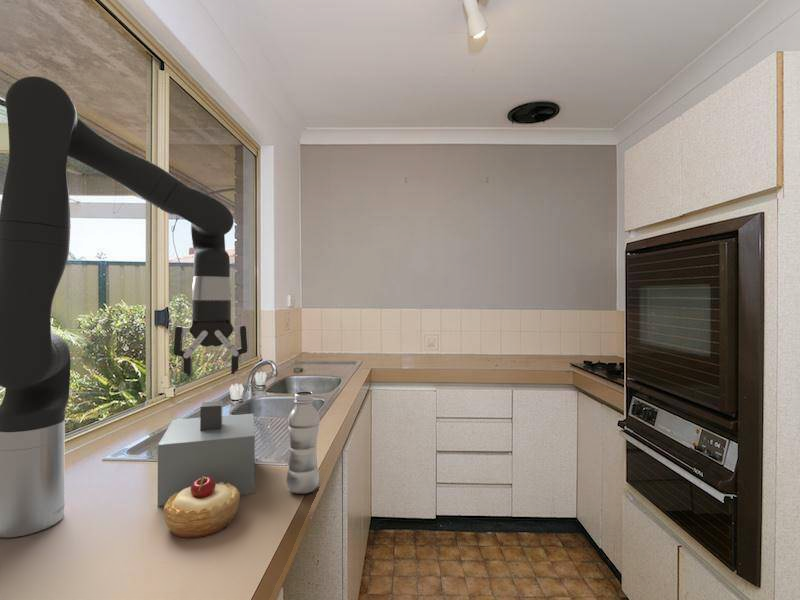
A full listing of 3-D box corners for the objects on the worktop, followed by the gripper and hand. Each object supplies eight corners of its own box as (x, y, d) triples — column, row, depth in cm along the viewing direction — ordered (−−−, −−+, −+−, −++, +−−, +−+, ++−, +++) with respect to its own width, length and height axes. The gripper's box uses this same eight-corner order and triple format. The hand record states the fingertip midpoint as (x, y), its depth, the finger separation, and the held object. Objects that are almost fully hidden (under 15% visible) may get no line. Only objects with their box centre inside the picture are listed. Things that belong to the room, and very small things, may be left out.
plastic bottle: (305, 480, 92) (306, 388, 92) (325, 490, 87) (326, 393, 87) (279, 491, 87) (280, 393, 87) (300, 501, 82) (301, 398, 82)
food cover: (157, 506, 80) (158, 418, 80) (172, 470, 96) (173, 397, 96) (254, 493, 86) (255, 411, 86) (253, 461, 102) (253, 392, 102)
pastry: (235, 504, 82) (237, 458, 83) (241, 534, 72) (244, 480, 72) (165, 515, 77) (167, 465, 77) (160, 549, 66) (162, 491, 67)
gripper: (171, 298, 85) (171, 379, 85) (247, 298, 89) (247, 375, 90) (177, 298, 92) (177, 373, 92) (247, 298, 96) (247, 369, 97)
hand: (211, 374), depth 91 cm, fingers open, 8 cm apart
